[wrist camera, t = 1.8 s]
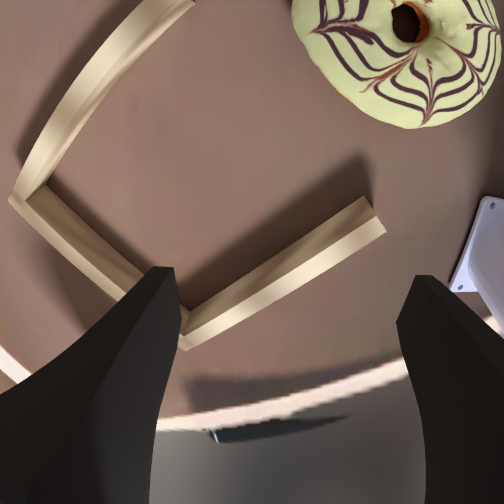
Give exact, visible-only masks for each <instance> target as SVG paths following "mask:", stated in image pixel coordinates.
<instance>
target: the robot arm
mask: <svg viewBox="0 0 504 504" xmlns="http://www.w3.org/2000/svg"><path fill="white" fill-rule="evenodd" d="M491 204H492V205H491ZM490 205H491V206H490ZM449 289H450V290H449ZM449 289H448V288H447V287H446V286H445V285H444V284H442V283H441V282H440V281H439V280H437V279H436V278H435V277H433V276H432V275H415V278H414V281H413V283H412V286H411V288H410V291H409V293H408V295H407V298H406V300H405V303H404V305H403V307H402V310H401V312H400V314H399V316H398V319H397V321H396V325H397V330H398V336H399V341H400V346H401V350H402V354H403V357H404V360H405V363H406V366H407V370H408V373H409V376H410V379H411V382H412V386H413V389H414V392H415V395H416V399H417V403H418V406H419V410H420V415H421V419H422V427H423V435H424V443H425V457H426V494H425V504H504V339H503V338H502V337H501V336H500V335H499V334H497V333H496V332H495V331H494V330H493V329H492V328H491V327H490V326H489V325H487V324H486V323H485V322H484V321H483V320H482V319H481V318H480V317H479V316H478V315H477V314H476V313H474V312H473V311H472V310H471V309H470V308H469V307H468V306H467V305H466V304H465V303H464V302H463V301H462V300H460V299H459V298H458V297H457V296H456V295H455V294H454V293H453V292H474V291H478V292H479V294H480V295H481V297H482V298H483V300H484V302H485V303H486V305H487V306H488V308H489V310H490V311H491V313H492V315H493V316H494V318H495V320H496V321H497V323H498V325H499V326H500V328H501V330H502V332H503V334H504V199H501V198H496V197H490V196H485V197H483V198H482V200H481V202H480V205H479V209H478V212H477V215H476V218H475V221H474V224H473V226H472V229H471V232H470V235H469V238H468V240H467V243H466V245H465V248H464V251H463V253H462V256H461V258H460V261H459V263H458V265H457V268H456V270H455V273H454V275H453V277H452V279H451V282H450V284H449ZM181 321H182V315H181V309H180V304H179V298H178V292H177V286H176V280H175V273H174V267H157V266H153V267H152V268H151V269H150V270H149V271H148V272H147V273H146V274H145V275H144V276H143V277H142V278H141V279H140V280H139V281H138V282H137V283H136V284H135V285H134V286H133V287H132V288H131V289H130V290H129V291H128V292H127V293H126V294H125V295H124V296H123V297H122V298H121V299H120V300H119V301H118V302H117V303H116V304H115V305H114V306H113V307H112V308H111V309H110V310H109V311H108V312H107V313H106V314H105V315H104V316H103V317H102V318H101V319H100V320H99V321H98V322H97V323H96V324H95V325H93V326H92V327H91V328H90V329H89V330H88V331H87V332H86V333H85V334H84V335H83V336H82V337H80V338H79V339H78V340H77V341H76V342H75V343H73V344H72V345H71V346H70V347H69V348H67V349H66V350H65V351H64V352H62V353H61V354H60V355H59V356H57V357H56V358H55V359H53V360H52V361H51V362H49V363H48V364H47V365H45V366H44V367H42V368H41V369H39V370H38V371H36V372H35V373H34V374H32V375H31V376H29V377H28V378H26V379H25V380H24V381H22V382H20V383H19V384H17V385H15V386H14V387H12V388H11V389H9V390H7V391H5V392H4V393H2V394H0V504H149V489H150V474H151V464H152V453H153V445H154V438H155V431H156V424H157V419H158V415H159V410H160V406H161V403H162V399H163V396H164V392H165V388H166V385H167V381H168V378H169V374H170V371H171V367H172V364H173V360H174V357H175V353H176V350H177V345H178V340H179V334H180V328H181Z"/></svg>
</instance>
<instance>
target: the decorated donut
mask: <svg viewBox="0 0 504 504" xmlns="http://www.w3.org/2000/svg"><path fill="white" fill-rule="evenodd" d="M402 3H403V4H407V5H409V6H411V7H412V8H413V9H414V11H415V13H416V15H417V16H418V18H419V21H420V24H421V25H420V26H419V27H420V28H421V30H419V31H420V32H419V35H418V37H417V38H416V40H415V42H414V43H413V42H411V43H406V42H403V41H401V40H400V39H398V38H397V36H396V35H395V33H394V31H393V28H392V20H393V17H392V14H391V10H392V9H393V8H396V7H397V6H399V5H401V4H402ZM291 18H292V23H293V26H294V29H295V31H296V33H297V35H298V37H299V38H300V40H301V41H302V42H303V44H304V46H305V48H306V50H307V52H308V54H309V56H310V58H311V59H312V61H313V62H314V63H315V64H316V65H317V67H318V68H319V70H320V71H321V73H322V74H323V75H324V76H325V77H326V79H327V80H328V81H329V83H330V84H331V85H332V86H333V88H334V89H335V90H337V92H339V93H340V95H342V96H344V97H345V98H347V100H349V101H350V102H352V103H353V104H355V105H356V106H357V107H358V108H359V109H360V110H362V111H363V112H365V113H366V114H368V115H370V116H372V117H374V118H375V119H378V120H380V121H383V122H386V123H390V124H393V125H395V126H399V127H402V128H406V129H412V128H421V127H428V126H436V125H440V124H443V123H445V122H449V121H450V120H452V119H454V118H456V117H458V116H460V115H462V114H464V113H465V112H467V111H469V110H470V109H471V108H472V107H473V106H475V105H476V104H477V103H478V102H479V101H480V100H481V99H482V98H483V97H484V96H485V94H486V93H487V90H488V88H489V87H490V86H491V84H492V82H493V80H494V78H495V75H496V72H497V69H498V67H499V65H500V61H501V50H502V49H501V42H500V29H499V24H498V21H497V18H496V14H495V9H494V7H493V4H492V2H491V0H293V2H292V7H291Z"/></svg>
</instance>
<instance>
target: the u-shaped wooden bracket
mask: <svg viewBox="0 0 504 504" xmlns="http://www.w3.org/2000/svg"><path fill="white" fill-rule="evenodd" d="M194 4H195V2H193V1H192V0H143V1H142V2H141V3H140V4H139V5H138V6H137V7H136V8H135V9H134V10H133V11H132V12H131V13H130V14H129V15H128V16H127V17H126V19H125V20H124V21H123V22H122V23H121V24H120V25H119V26H118V27H117V28H116V29H115V31H114V32H113V33H112V34H111V35H110V36H109V37H108V39H107V40H106V41H105V42H104V43H103V45H102V46H101V47H100V48H99V49H98V51H97V52H96V53H95V54H94V56H93V57H92V58H91V59H90V61H89V62H88V63H87V65H86V66H85V67H84V68H83V70H82V71H81V73H80V74H79V75H78V77H77V78H76V79H75V81H74V82H73V84H72V85H71V86H70V88H69V89H68V91H67V92H66V94H65V95H64V97H63V98H62V100H61V101H60V103H59V104H58V106H57V107H56V109H55V111H54V112H53V114H52V115H51V117H50V119H49V120H48V122H47V124H46V125H45V127H44V129H43V131H42V132H41V134H40V136H39V138H38V139H37V141H36V143H35V145H34V147H33V149H32V150H31V152H30V154H29V156H28V158H27V160H26V162H25V164H24V166H23V168H22V170H21V172H20V174H19V177H18V179H17V181H16V183H15V185H14V188H13V190H12V192H11V194H10V197H9V199H8V202H9V203H10V204H11V205H12V206H13V207H14V208H15V209H16V210H17V211H18V212H19V213H20V214H21V215H22V216H23V217H24V218H25V219H26V220H27V221H28V222H29V223H30V224H31V225H32V226H33V227H34V228H35V229H36V230H37V231H38V232H39V233H40V234H41V235H42V236H43V237H44V238H45V239H46V240H47V241H48V242H49V243H50V244H51V245H52V246H53V247H55V248H56V249H57V250H58V251H59V252H60V253H61V254H62V255H63V256H64V257H65V258H67V259H68V260H69V261H70V262H71V263H72V264H73V265H74V266H76V267H77V268H78V269H79V270H80V271H81V272H82V273H84V274H85V275H86V276H87V277H88V278H90V279H91V280H92V281H93V282H94V283H95V284H97V285H98V286H99V287H100V288H101V289H103V290H104V291H105V292H106V293H108V294H109V295H110V296H111V297H113V298H114V299H115V300H116V301H119V300H120V299H121V298H122V297H123V296H124V295H125V294H126V293H127V292H128V291H129V290H130V289H131V288H132V287H133V286H134V285H135V284H136V283H137V282H138V281H139V280H140V279H141V278H142V277H143V276H144V274H143V273H142V272H141V271H139V270H138V269H137V268H136V267H135V266H134V265H132V264H131V263H130V262H129V261H128V260H127V259H125V258H124V257H123V256H122V255H121V254H120V253H118V252H117V251H116V250H115V249H114V248H113V247H112V246H110V245H109V244H108V243H107V242H106V241H105V240H104V239H103V238H102V237H100V236H99V235H98V234H97V233H96V232H95V231H94V230H93V229H92V228H91V227H89V226H88V225H87V224H86V223H85V222H84V221H83V220H82V219H81V218H80V217H79V216H78V215H77V214H76V213H75V212H73V211H72V210H71V209H70V208H69V207H68V206H67V205H66V204H65V203H64V202H63V201H62V200H61V199H60V198H59V197H58V196H57V195H56V194H55V193H54V192H53V191H52V190H51V189H50V188H49V187H48V186H47V185H46V183H47V181H48V179H49V178H50V176H51V174H52V173H53V171H54V169H55V168H56V166H57V164H58V163H59V161H60V160H61V158H62V156H63V155H64V153H65V152H66V150H67V149H68V147H69V146H70V144H71V143H72V141H73V140H74V138H75V137H76V135H77V134H78V132H79V131H80V129H81V128H82V127H83V125H84V124H85V122H86V121H87V120H88V118H89V117H90V116H91V114H92V113H93V112H94V110H95V109H96V108H97V106H98V105H99V104H100V102H101V101H102V100H103V99H104V97H105V96H106V95H107V94H108V92H109V91H110V90H111V89H112V88H113V86H114V85H115V84H116V83H117V82H118V80H119V79H120V78H121V77H122V76H123V75H124V73H125V72H126V71H127V70H128V69H129V68H130V67H131V66H132V64H133V63H134V62H135V61H136V60H137V59H138V58H139V57H140V56H141V55H142V54H143V53H144V51H145V50H146V49H147V48H148V47H149V46H150V45H151V44H152V43H153V42H154V41H155V40H156V39H157V38H158V37H159V36H160V35H161V34H162V33H163V32H164V31H165V30H166V29H168V28H169V27H170V26H171V25H172V24H173V23H174V22H175V21H176V20H177V19H178V18H179V17H181V16H182V15H183V14H184V13H185V12H186V11H187V10H188V9H190V8H191V7H192V6H193V5H194ZM385 232H386V230H385V228H384V226H383V225H382V223H381V221H380V220H379V218H378V216H377V215H376V213H375V212H374V210H373V208H372V207H371V205H370V204H369V202H368V201H367V199H366V198H365V197H364V195H363V196H362V197H360V198H359V199H358V200H356V201H355V202H353V203H352V204H350V205H349V206H347V207H346V208H344V209H343V210H341V211H340V212H339V213H337V214H336V215H334V216H333V217H331V218H330V219H328V220H327V221H325V222H324V223H322V224H321V225H319V226H318V227H316V228H315V229H314V230H312V231H311V232H309V233H308V234H306V235H305V236H303V237H302V238H300V239H299V240H297V241H296V242H294V243H293V244H291V245H290V246H288V247H287V248H285V249H284V250H282V251H281V252H279V253H278V254H276V255H275V256H273V257H272V258H270V259H269V260H267V261H266V262H264V263H263V264H261V265H260V266H258V267H257V268H255V269H254V270H252V271H251V272H249V273H248V274H246V275H245V276H243V277H242V278H240V279H239V280H237V281H236V282H234V283H233V284H231V285H230V286H228V287H227V288H225V289H224V290H222V291H221V292H219V293H218V294H216V295H215V296H213V297H212V298H210V299H209V300H207V301H205V302H204V303H202V304H201V305H199V306H198V307H196V308H195V309H193V310H192V311H189V310H188V309H186V308H185V307H184V306H182V305H181V304H180V303H179V304H180V309H181V315H182V321H181V328H180V334H179V340H178V345H177V346H179V347H180V348H181V349H183V350H184V351H188V350H189V349H191V348H193V347H195V346H197V345H199V344H201V343H202V342H204V341H206V340H208V339H210V338H211V337H213V336H215V335H217V334H219V333H221V332H222V331H224V330H226V329H228V328H229V327H231V326H233V325H235V324H237V323H238V322H240V321H242V320H244V319H245V318H247V317H249V316H251V315H252V314H254V313H256V312H258V311H259V310H261V309H263V308H264V307H266V306H268V305H270V304H271V303H273V302H275V301H276V300H278V299H280V298H281V297H283V296H285V295H286V294H288V293H290V292H291V291H293V290H295V289H296V288H298V287H300V286H301V285H303V284H305V283H306V282H308V281H310V280H311V279H313V278H315V277H316V276H318V275H319V274H321V273H323V272H324V271H326V270H327V269H329V268H331V267H332V266H334V265H335V264H337V263H339V262H340V261H342V260H343V259H345V258H346V257H348V256H350V255H351V254H353V253H354V252H356V251H357V250H359V249H361V248H362V247H364V246H365V245H367V244H368V243H370V242H371V241H373V240H374V239H376V238H377V237H379V236H380V235H382V234H383V233H385Z"/></svg>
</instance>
